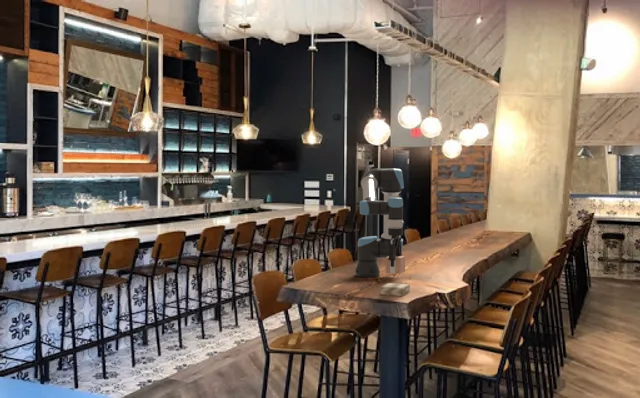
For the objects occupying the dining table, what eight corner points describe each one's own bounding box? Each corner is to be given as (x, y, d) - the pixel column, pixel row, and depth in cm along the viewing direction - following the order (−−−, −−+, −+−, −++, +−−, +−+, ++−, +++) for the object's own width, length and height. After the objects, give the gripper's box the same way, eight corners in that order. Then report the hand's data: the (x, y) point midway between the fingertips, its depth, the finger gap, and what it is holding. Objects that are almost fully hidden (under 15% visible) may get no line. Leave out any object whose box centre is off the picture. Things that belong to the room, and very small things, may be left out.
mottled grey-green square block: (380, 294, 321) (380, 286, 320) (387, 290, 332) (387, 282, 331) (403, 296, 316) (403, 288, 316) (409, 292, 327) (409, 284, 327)
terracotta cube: (385, 272, 321) (385, 257, 321) (390, 270, 328) (390, 255, 328) (400, 273, 318) (400, 258, 317) (404, 271, 325) (405, 256, 325)
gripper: (396, 229, 311) (396, 275, 312) (408, 226, 330) (407, 269, 331) (382, 229, 314) (382, 274, 315) (394, 225, 333) (394, 268, 334)
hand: (395, 271), depth 323 cm, fingers closed on terracotta cube, 8 cm apart
